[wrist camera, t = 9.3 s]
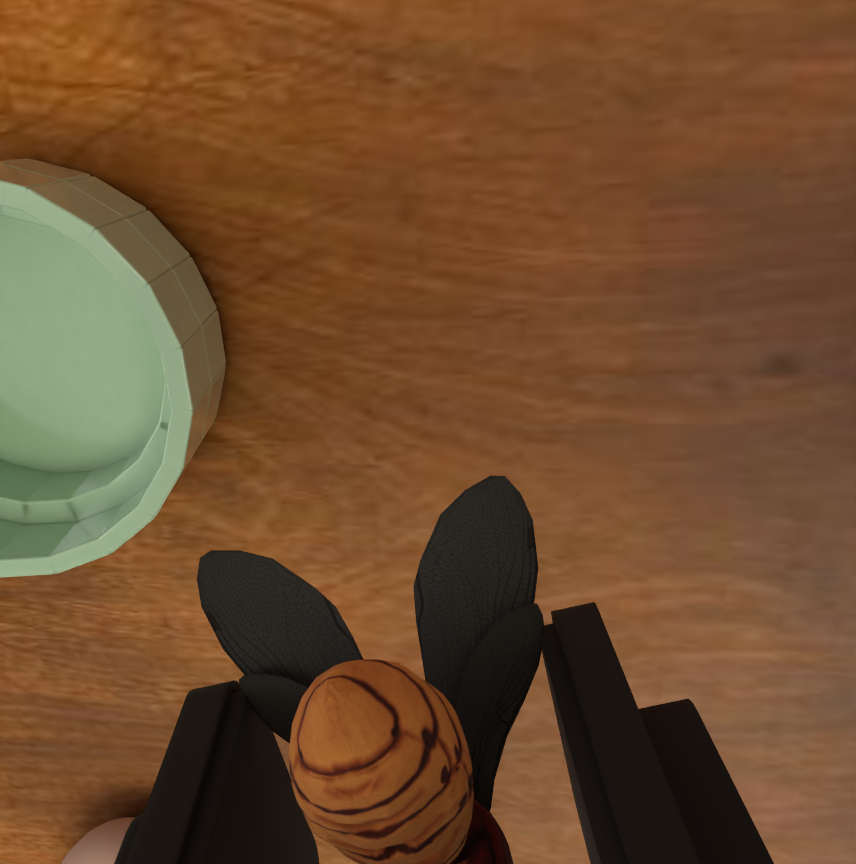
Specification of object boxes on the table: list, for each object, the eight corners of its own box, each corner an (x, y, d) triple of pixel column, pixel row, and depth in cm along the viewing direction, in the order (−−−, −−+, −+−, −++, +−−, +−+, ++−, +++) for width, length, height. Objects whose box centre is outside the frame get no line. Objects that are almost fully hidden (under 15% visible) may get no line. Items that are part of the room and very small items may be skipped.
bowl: (-54, 79, 23) (-171, 70, 18) (291, 289, 25) (266, 328, 21) (-180, 394, 26) (-306, 454, 22) (136, 553, 29) (85, 638, 24)
